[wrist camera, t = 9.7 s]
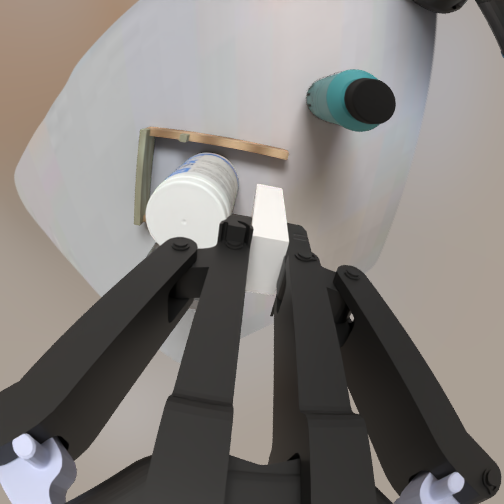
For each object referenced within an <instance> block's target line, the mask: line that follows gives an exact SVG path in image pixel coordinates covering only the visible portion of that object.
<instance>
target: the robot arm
mask: <svg viewBox="0 0 504 504" xmlns="http://www.w3.org/2000/svg"><path fill="white" fill-rule="evenodd" d="M413 1H414V2H416V3H417V4H419V5H420V6H422V7H424V8H426V9H428V10H430V11H433V12H436V13H450V12H454V11H457V10H459V9H460V8H461V7H462V6H463V5H464V4H465V3H466V2H467V0H413ZM475 1H476V2H477V4H478V6H479V7H480V9H481V11H482V13H483V15H484V17H485V18H486V20H487V22H488V24H489V26H490V28H491V30H492V32H493V34H494V36H495V38H496V40H497V42H498V45H499V47H500V49H501V54H502V56H503V58H504V0H475ZM276 288H277V295H276V298H275V302H274V305H273V308H272V312H271V315H270V316H273V314H274V398H273V443H272V450H271V454H270V457H269V462H268V465H258V464H255V463H252V462H249V461H246V460H243V459H240V458H237V457H234V456H231V455H229V451H230V442H231V431H232V423H233V396H234V385H235V378H236V369H237V359H238V350H239V342H240V333H241V324H242V315H243V306H244V297H245V291H248V292H254V293H260V294H266V295H272V296H274V295H275V291H276ZM194 298H200V299H199V302H198V305H197V309H196V312H195V316H194V319H193V322H192V326H191V329H190V333H189V336H188V340H187V343H186V347H185V350H184V354H183V358H182V361H181V365H180V369H179V372H178V376H177V380H176V383H175V387H174V390H173V393H172V395H170V396H169V397H168V399H167V401H166V404H165V407H164V411H163V415H162V419H161V422H160V426H159V430H158V434H157V438H156V442H155V446H154V451H153V454H152V455H151V456H148V457H145V458H142V459H140V460H138V461H136V462H134V463H132V464H131V465H130V466H128V467H126V468H125V469H123V470H122V471H120V472H118V473H117V474H115V475H114V476H112V477H110V478H109V479H107V480H105V481H104V482H102V483H100V484H99V485H97V486H95V487H94V488H92V489H90V490H88V491H87V492H85V493H83V494H81V495H80V496H78V497H76V498H74V499H72V500H70V501H68V502H66V500H65V499H66V498H65V496H66V493H67V490H68V489H69V488H70V486H71V485H72V484H73V483H74V481H75V478H76V474H77V471H76V470H77V469H76V465H75V462H74V460H76V459H77V458H78V457H79V456H80V455H81V454H82V453H83V452H84V451H85V450H87V449H88V448H89V446H90V445H91V444H92V442H93V441H94V440H95V438H96V437H97V436H98V434H99V433H100V432H101V430H102V429H103V427H104V426H105V424H106V423H107V422H108V420H109V419H110V417H111V416H112V414H113V413H114V411H115V410H116V409H117V407H118V406H119V404H120V403H121V401H122V400H123V399H124V397H125V396H126V394H127V393H128V392H129V390H130V389H131V387H132V386H133V385H134V383H135V382H136V380H137V379H138V377H139V376H140V375H141V373H142V372H143V371H144V369H145V368H146V366H147V365H148V364H149V362H150V361H151V359H152V358H153V356H154V355H155V354H156V352H157V351H158V350H159V348H160V347H161V346H162V344H163V343H164V341H165V340H166V339H167V337H168V336H169V334H170V333H171V332H172V330H173V329H174V328H175V326H176V325H177V324H178V322H179V321H180V319H181V318H182V317H183V315H184V314H185V313H186V311H187V310H188V309H189V307H190V306H191V304H192V303H193V301H194ZM351 313H352V314H353V316H354V320H353V322H352V321H351V319H350V315H351ZM347 387H348V388H347ZM348 389H349V391H350V393H351V395H352V398H353V400H354V402H355V405H356V407H357V409H358V412H359V414H355V413H353V412H352V410H351V406H350V400H349V394H348ZM368 435H369V437H370V440H371V442H372V444H373V447H374V449H375V452H376V454H377V457H378V459H379V461H380V464H381V466H382V468H383V471H384V473H385V475H386V477H387V479H388V480H389V482H390V484H391V485H392V487H393V488H394V490H395V491H396V492H397V493H398V495H399V496H400V498H398V499H397V500H396V501H395V502H394V504H479V503H481V502H483V501H485V500H487V499H489V498H491V497H492V496H494V495H495V494H496V492H497V491H498V490H499V487H500V484H501V472H500V469H499V467H498V466H497V464H496V463H495V462H494V461H493V460H492V459H491V458H490V457H489V455H488V454H487V453H486V452H485V451H484V450H483V449H482V448H481V447H480V446H479V445H478V444H477V443H476V442H475V441H474V439H473V438H472V437H471V436H470V435H469V434H468V433H467V432H466V430H465V428H464V427H463V425H462V423H461V421H460V419H459V417H458V415H457V414H456V412H455V410H454V408H453V407H452V405H451V403H450V401H449V399H448V398H447V396H446V394H445V393H444V391H443V389H442V388H441V386H440V384H439V382H438V381H437V379H436V378H435V376H434V374H433V373H432V371H431V369H430V368H429V366H428V365H427V363H426V362H425V360H424V358H423V357H422V355H421V354H420V352H419V351H418V349H417V347H416V346H415V344H414V343H413V341H412V340H411V338H410V337H409V336H408V334H407V332H406V331H405V330H404V328H403V327H402V325H401V324H400V323H399V321H398V319H397V318H396V317H395V315H394V314H393V312H392V311H391V309H390V308H389V307H388V305H387V304H386V302H385V301H384V300H383V298H382V297H381V296H380V294H379V293H378V292H377V290H376V289H375V287H374V286H373V285H372V283H371V282H370V281H369V279H368V278H367V277H366V275H365V274H364V273H363V272H362V271H360V270H359V269H357V268H356V267H353V266H348V265H343V266H340V267H338V269H337V271H336V272H334V271H331V270H328V269H326V268H324V267H322V266H321V264H320V260H319V258H318V257H317V256H316V255H315V254H314V253H312V252H311V248H310V244H309V240H308V237H307V232H306V230H305V229H304V228H303V227H302V226H300V225H295V224H290V223H287V221H286V213H285V206H284V198H283V191H282V188H277V187H272V186H267V185H261V184H257V188H256V193H255V199H254V204H253V209H252V214H251V217H248V216H242V215H236V214H232V215H230V216H229V217H227V219H225V220H223V221H221V222H220V224H219V232H218V240H217V244H216V246H214V247H210V248H198V247H197V243H196V242H194V241H193V240H191V239H189V238H185V237H175V238H170V239H168V240H167V241H165V242H164V243H163V244H162V245H160V246H159V247H158V248H157V249H156V250H154V251H153V252H152V253H151V254H150V255H149V256H147V257H146V258H145V259H144V260H143V261H142V262H141V263H139V264H138V265H137V266H136V267H135V268H134V269H133V270H131V271H130V272H129V273H128V274H127V275H126V276H125V277H124V278H122V279H121V280H120V281H119V282H118V283H117V284H116V285H115V286H114V287H112V288H111V289H110V290H109V291H108V292H107V293H106V294H105V295H104V296H103V297H102V298H101V299H100V300H99V301H97V302H96V303H95V304H94V305H93V306H92V307H91V308H90V309H89V310H88V311H87V312H86V313H85V314H84V315H83V316H82V317H81V318H80V319H78V321H76V322H75V323H74V325H72V326H71V327H70V328H69V329H68V330H67V331H66V333H64V335H62V336H61V337H60V338H59V339H58V340H57V341H56V342H55V343H54V345H52V347H51V348H50V349H49V350H48V351H47V352H46V353H45V354H44V355H43V356H42V357H41V358H40V359H39V360H38V361H37V363H35V364H34V366H33V367H32V368H31V369H30V370H29V371H28V372H27V373H26V374H25V375H24V376H23V378H22V379H21V380H20V381H19V382H17V383H15V384H13V385H11V386H10V387H8V388H6V389H4V390H3V391H1V392H0V483H1V485H2V487H3V489H4V491H5V492H6V494H7V496H8V497H9V499H10V501H11V503H12V504H393V503H392V502H391V501H390V500H389V499H388V498H387V497H386V496H385V495H384V494H383V493H382V492H381V491H380V490H379V489H378V488H377V487H376V486H375V482H374V474H373V466H372V459H371V452H370V445H369V439H368Z"/></svg>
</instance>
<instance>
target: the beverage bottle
mask: <svg viewBox="0 0 504 504" xmlns="http://www.w3.org/2000/svg"><path fill="white" fill-rule="evenodd" d="M329 76H330V77H329ZM329 76H327V78H324V77H323V78H324V79H321V80H320V79H319V81H317V80H316V81H317V82H315V81H314V82H315V83H314V82H313V83H314V84H312V86H311V87H310V86H309V87H310V88H309V90H308V92H307V95H306V96H307V104H308V107H309V109H310V111H311V112H312V113H313V114H314V115H315V116H317V117H318V118H320V119H322V120H325V122H326V121H328V122H331V123H335V124H338V125H340V126H343V127H344V128H346V129H349V130H352V131H357V132H363V131H369V130H371V129H374V128H375V127H377V126H378V125H379V124H381V123H384V122H386V121H387V120H389V119H390V118H391V116H392V115H393V113H394V111H395V106H396V102H395V97H394V94H393V92H392V91H391V89H390V88H389V87H388V86H387V85H386V84H385V83H383V82H382V81H380V80H378V79H377V78H375V77H374V76H373V75H371V74H370V73H368V72H365V71H362V70H355V69H353V70H346V71H343V72H341V73H339V74H335V73H334V75H333V76H331V75H329ZM317 117H316V118H317Z"/></svg>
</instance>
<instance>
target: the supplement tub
mask: <svg viewBox="0 0 504 504" xmlns="http://www.w3.org/2000/svg"><path fill="white" fill-rule="evenodd" d="M238 187H239V179H238V175H237V172H236V170H235V168H234V166H233V165H232V164H231V163H230V162H229V161H228V160H227V159H226V158H224V157H223V156H221V155H218V154H215V153H200V154H197V155H194V156H192V157H191V158H189V159H188V160H187V161H185V162H184V163H183V164H182V165H181V166H180V167H179V168H177V169H176V170H175V171H174V172H173V173H172V174H171V175H170V176H169V177H167V178H166V179H165V180H164V181H163V182H162V183H161V184H160V185H159V186H158V187H157V188H156V190H155V191H154V193H153V194H152V196H151V197H150V199H149V201H148V204H147V207H146V223H147V227H148V230H149V232H150V234H151V236H152V237H153V239H154V240H155V241H156V242H157V243H158V244H159V245H162V244H163V243H164V242H165V241H167V240H168V239H170V238H175V237H185V238H189V239H191V240H193V241H194V242H196V243H197V247H198V248H210V247H214V246H216V244H217V240H218V232H219V224H220V222H221V221H223V220H225V219H227V217H229V216H230V215H231V214H232V210H233V206H234V203H235V199H236V196H237V192H238Z"/></svg>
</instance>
